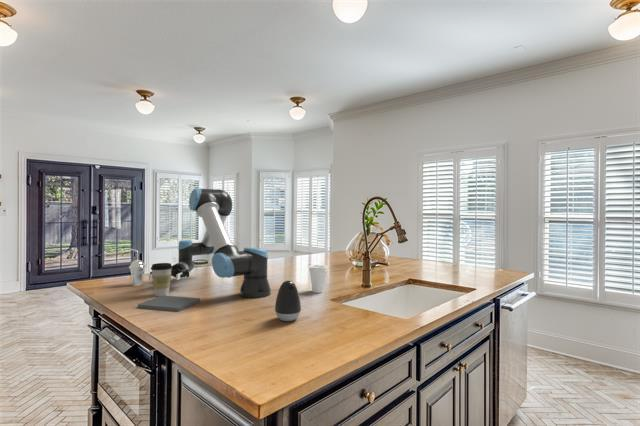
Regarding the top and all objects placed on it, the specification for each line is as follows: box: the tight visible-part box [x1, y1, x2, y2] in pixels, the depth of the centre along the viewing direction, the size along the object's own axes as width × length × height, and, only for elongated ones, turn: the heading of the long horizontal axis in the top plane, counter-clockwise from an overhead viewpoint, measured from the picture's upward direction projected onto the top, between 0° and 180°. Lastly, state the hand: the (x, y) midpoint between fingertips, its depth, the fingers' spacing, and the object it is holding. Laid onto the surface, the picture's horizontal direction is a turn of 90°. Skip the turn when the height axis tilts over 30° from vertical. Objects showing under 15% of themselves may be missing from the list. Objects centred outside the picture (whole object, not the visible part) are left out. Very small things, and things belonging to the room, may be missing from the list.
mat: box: [137, 295, 201, 312], centre depth 155 cm, size 20×16×2 cm
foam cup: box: [308, 264, 329, 294], centre depth 182 cm, size 10×9×13 cm
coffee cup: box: [150, 262, 173, 297], centre depth 172 cm, size 10×10×15 cm
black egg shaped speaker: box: [274, 280, 302, 322], centre depth 137 cm, size 10×10×15 cm
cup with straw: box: [128, 248, 147, 287], centre depth 193 cm, size 8×9×20 cm
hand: (163, 277), depth 175 cm, fingers open, 13 cm apart
